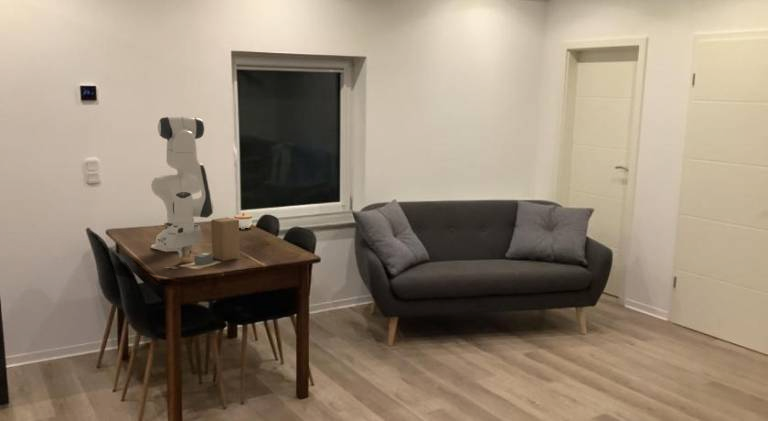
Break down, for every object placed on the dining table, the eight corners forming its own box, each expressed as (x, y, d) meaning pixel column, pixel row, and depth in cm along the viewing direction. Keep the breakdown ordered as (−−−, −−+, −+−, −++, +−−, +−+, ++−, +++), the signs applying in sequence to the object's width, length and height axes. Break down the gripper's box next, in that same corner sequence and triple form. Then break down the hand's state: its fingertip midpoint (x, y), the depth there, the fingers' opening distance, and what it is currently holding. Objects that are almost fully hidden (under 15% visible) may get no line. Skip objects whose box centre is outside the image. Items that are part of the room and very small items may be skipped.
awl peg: (179, 264, 318) (178, 245, 317) (185, 262, 322) (185, 244, 320) (185, 265, 317) (185, 246, 315) (191, 263, 320) (191, 245, 319)
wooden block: (228, 255, 336) (227, 216, 333) (240, 259, 330) (239, 219, 327) (211, 259, 329) (210, 219, 326) (223, 262, 322) (222, 222, 319)
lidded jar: (252, 229, 403) (252, 214, 402) (234, 230, 401) (234, 214, 399) (252, 226, 414) (251, 211, 412) (234, 226, 411) (234, 211, 410)
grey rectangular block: (194, 263, 315) (194, 255, 314) (205, 260, 321) (204, 252, 320) (202, 265, 313) (202, 256, 312) (213, 262, 319) (212, 253, 318)
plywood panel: (178, 267, 311) (178, 265, 311) (203, 260, 325) (203, 258, 325) (198, 271, 306) (198, 269, 306) (222, 264, 320) (222, 261, 320)
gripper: (195, 222, 327) (196, 250, 329) (163, 229, 309) (164, 258, 311) (205, 224, 324) (205, 251, 326) (173, 231, 306) (174, 260, 308)
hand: (185, 255), depth 319 cm, fingers closed on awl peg, 4 cm apart
